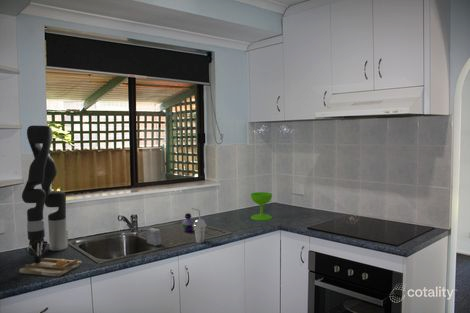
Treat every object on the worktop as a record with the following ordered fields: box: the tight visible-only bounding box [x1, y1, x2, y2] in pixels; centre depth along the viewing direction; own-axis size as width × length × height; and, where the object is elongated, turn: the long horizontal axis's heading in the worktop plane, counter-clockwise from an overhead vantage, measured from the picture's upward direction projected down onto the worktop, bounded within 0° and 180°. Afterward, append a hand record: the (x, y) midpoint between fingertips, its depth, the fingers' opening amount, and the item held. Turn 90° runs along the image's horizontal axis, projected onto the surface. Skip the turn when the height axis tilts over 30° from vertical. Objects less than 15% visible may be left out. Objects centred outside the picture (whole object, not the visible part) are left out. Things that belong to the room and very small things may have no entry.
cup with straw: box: [191, 207, 208, 244], centre depth 233 cm, size 8×9×20 cm
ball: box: [56, 258, 67, 268], centre depth 190 cm, size 5×5×5 cm
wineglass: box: [250, 191, 273, 221], centre depth 293 cm, size 16×16×18 cm
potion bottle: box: [181, 212, 195, 233], centre depth 256 cm, size 9×9×12 cm
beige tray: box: [19, 257, 83, 277], centre depth 192 cm, size 17×22×4 cm
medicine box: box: [146, 227, 162, 246], centre depth 230 cm, size 8×4×9 cm, turn 48°
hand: (37, 262), depth 194 cm, fingers closed
